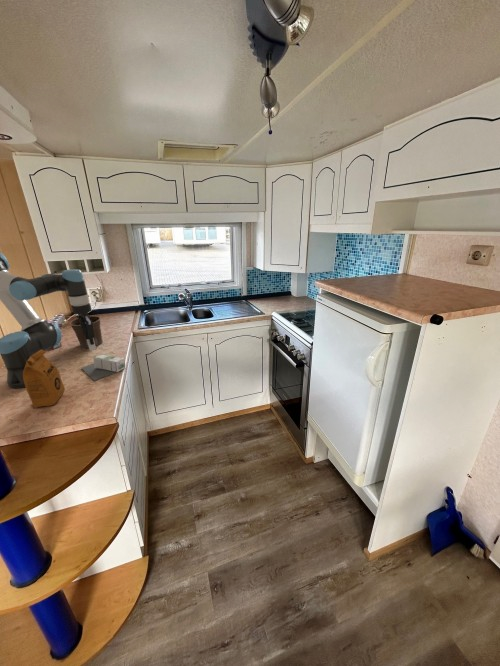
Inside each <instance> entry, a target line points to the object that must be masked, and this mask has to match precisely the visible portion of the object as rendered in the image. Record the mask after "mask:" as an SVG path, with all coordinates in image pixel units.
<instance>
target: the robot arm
mask: <svg viewBox="0 0 500 666" xmlns="http://www.w3.org/2000/svg"><path fill="white" fill-rule="evenodd" d="M9 270H10V264H9V261H8V259H7V257H6V256H5V255H4V254H3V253H2V252H0V301H1V303H2V304H3V305H4V306H5V308H6V309H7V311H8V312H9V313H10V314H11V315H12V316H13V318H14V319H15V320H16V321H17V323H18V324H19V325H20V327H21V328H20V330H19V331H14V332H10V333H8V334H6V335H4V336H2V337H1V338H0V356H1V359H2V361H3V364H4V366H5V368H6V372H7V375H6V376H7V377H6V384H7V385H8V388H10V389H14V388H15V389H24V388H25V389H26V387H25V384H24V380H23V371H24V368H25V365H26V362H27V360H28V359H29V358H30V356H32V355H33V354H35V353H36V352H38V351H39V350H41V349H42V350H43V351H44V352H45V351H47V350H49V349H52V347H54V346H55V345H57V344H58V343H61V341H62V337H63V335H62V331H61V329H60V327H59V326H58V325H57V324H53V323H48V322H47V321H46V320H47V319H44V318H41V317H40V315H38V313H37V312H36V310H35V309H34V308H33V306H31V305H30V303H29V302H28V301H29V300H32V299H35V298H38V297H41V296H45V295H49V294H52V293H55V292H67V295H68V300H69V303H70V305H71V311H72V313H73V314H74V315H77V318H76V319H78V320H79V322H80V325H81V328H82V331H83V334H84V336H85V337H86V340H87V343H88V346H89V348H88V349H89V351H90V352H92V351H96V350H97V346H95V342H94V337H95V335H94V330H93V321H92V320H90V316H91V315H89V313H91V312H92V305H91V303H90V299H89V297H90V294H88V290H87V287H86V283H85V277H84V275H83V272H82V270H80V269H77V268H74V269H73V268H72V269H64V270H62V271H61V273H44V274H42V275H41V276H39V277H33V278H25V277H23V276H17V275H15V274H11V273H10V271H9Z"/></svg>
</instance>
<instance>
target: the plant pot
mask: <svg viewBox="0 0 500 666" xmlns="http://www.w3.org/2000/svg"><path fill="white" fill-rule="evenodd" d="M89 316H90V320H92V321H93V330H94V335H95V337H94V342H95V346H96V347H98V346H100V345H102V343H104V342H103V341H104V340H103V336H102V330H101V317H100V316H97V315H89ZM69 325H70V326H71V328H72V330H73V331H74V333H75V335H76V338H77V340H78V342H79V345H80V348H83V349H89V346H88V343H87V340H86V337H85V336H84V334H83V331H82V328H81V325H80V322H79V320H78V318H75V319H73V320H71V321H70V322H69Z"/></svg>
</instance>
